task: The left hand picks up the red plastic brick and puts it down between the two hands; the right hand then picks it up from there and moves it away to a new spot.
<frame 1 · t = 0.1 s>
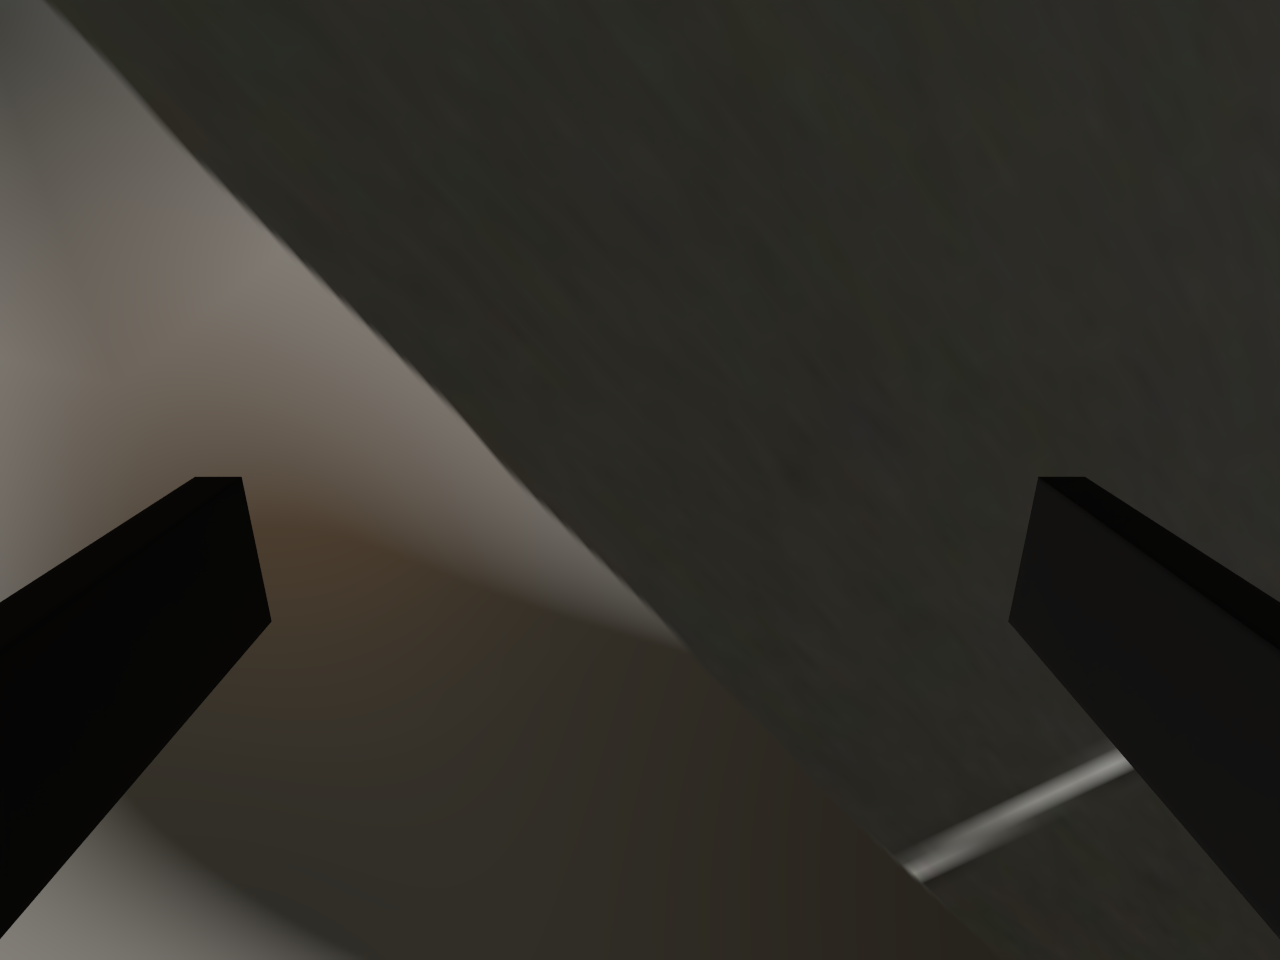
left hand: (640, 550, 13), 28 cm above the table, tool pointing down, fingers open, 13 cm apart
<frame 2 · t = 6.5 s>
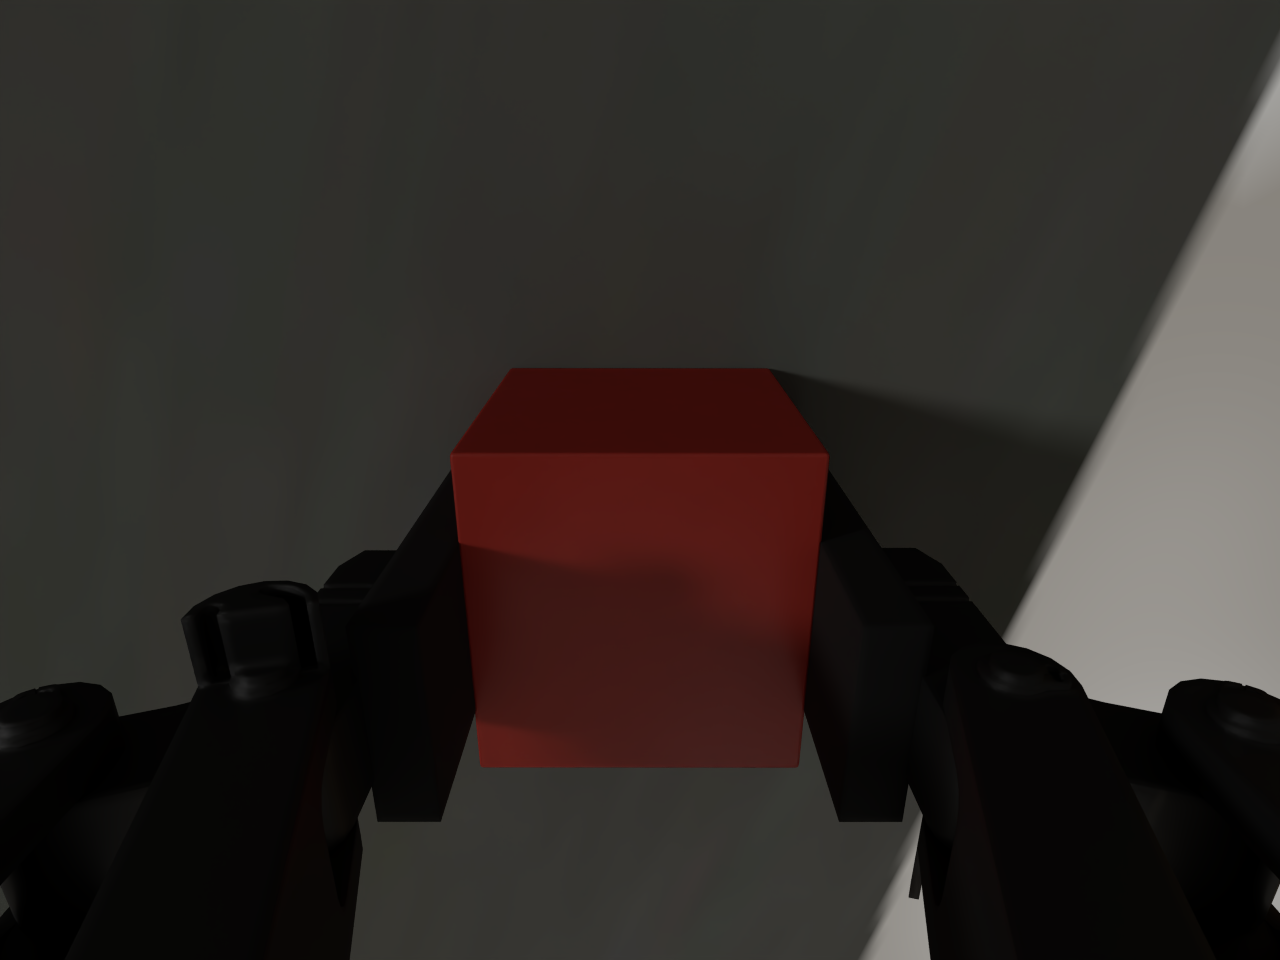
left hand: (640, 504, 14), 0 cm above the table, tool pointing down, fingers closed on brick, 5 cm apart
brick: (639, 493, 15), on the table, touching left hand
when the left hand's fingers open (1 cm above the table, at t = 18.9 s): brick stays where it is, on the table.
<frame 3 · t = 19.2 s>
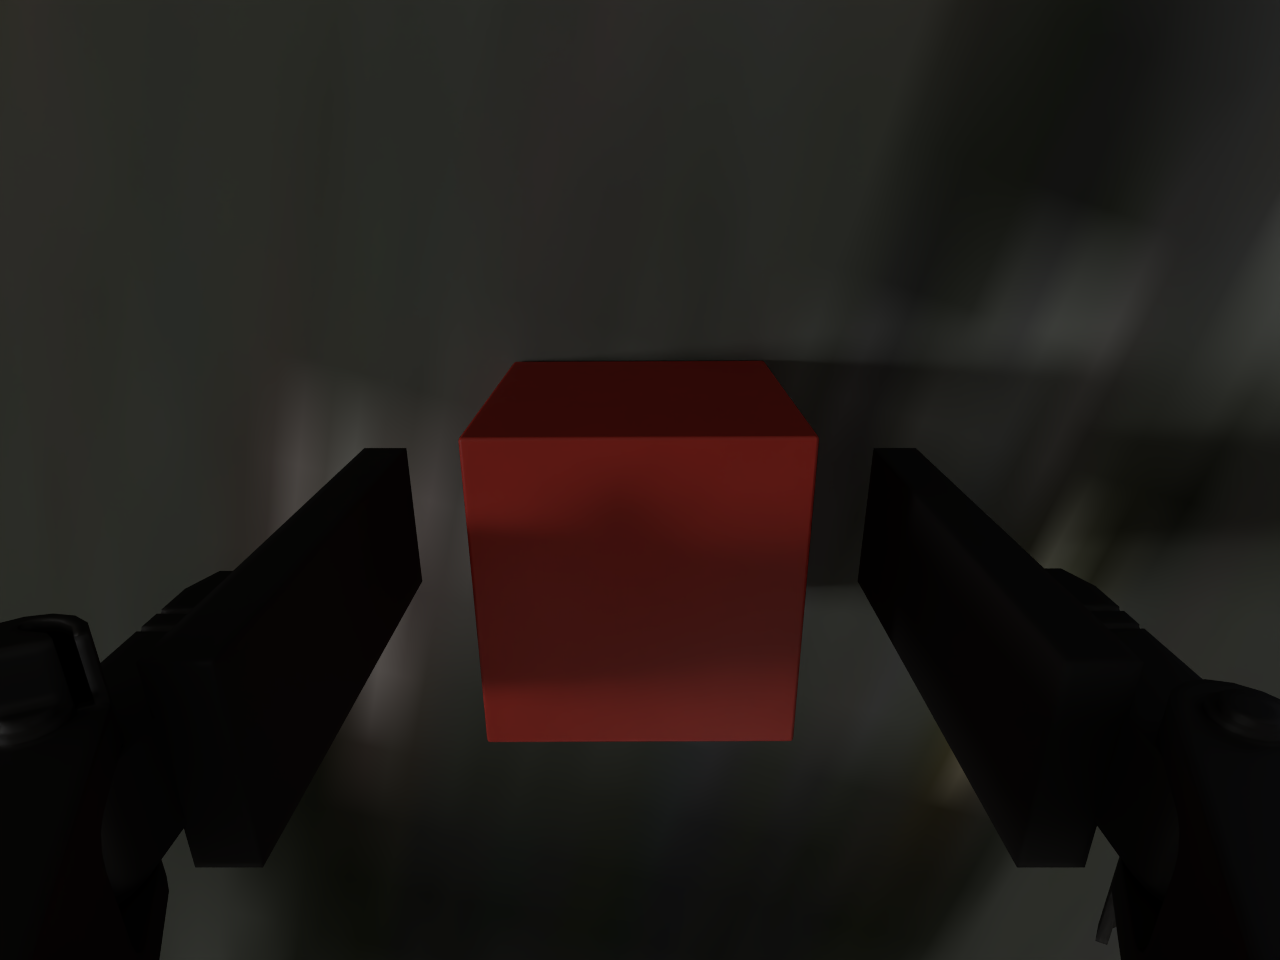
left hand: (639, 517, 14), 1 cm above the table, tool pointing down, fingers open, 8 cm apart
brick: (639, 482, 15), on the table
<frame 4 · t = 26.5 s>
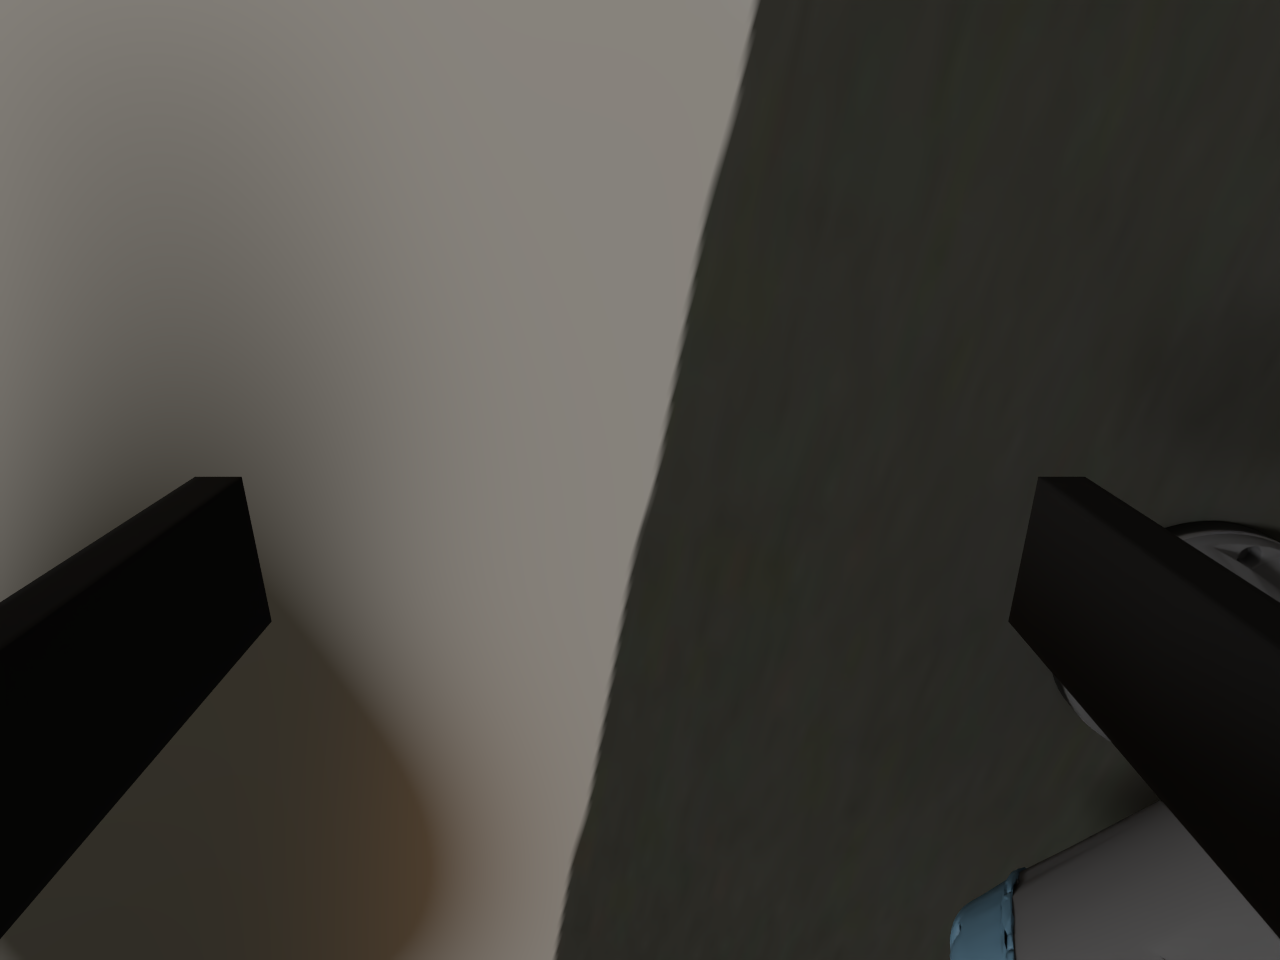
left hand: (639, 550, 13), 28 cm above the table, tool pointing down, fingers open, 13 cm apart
when the right hand's fingers open (2 cm above the table, at t = 32.9 s): brick stays where it is, on the table.
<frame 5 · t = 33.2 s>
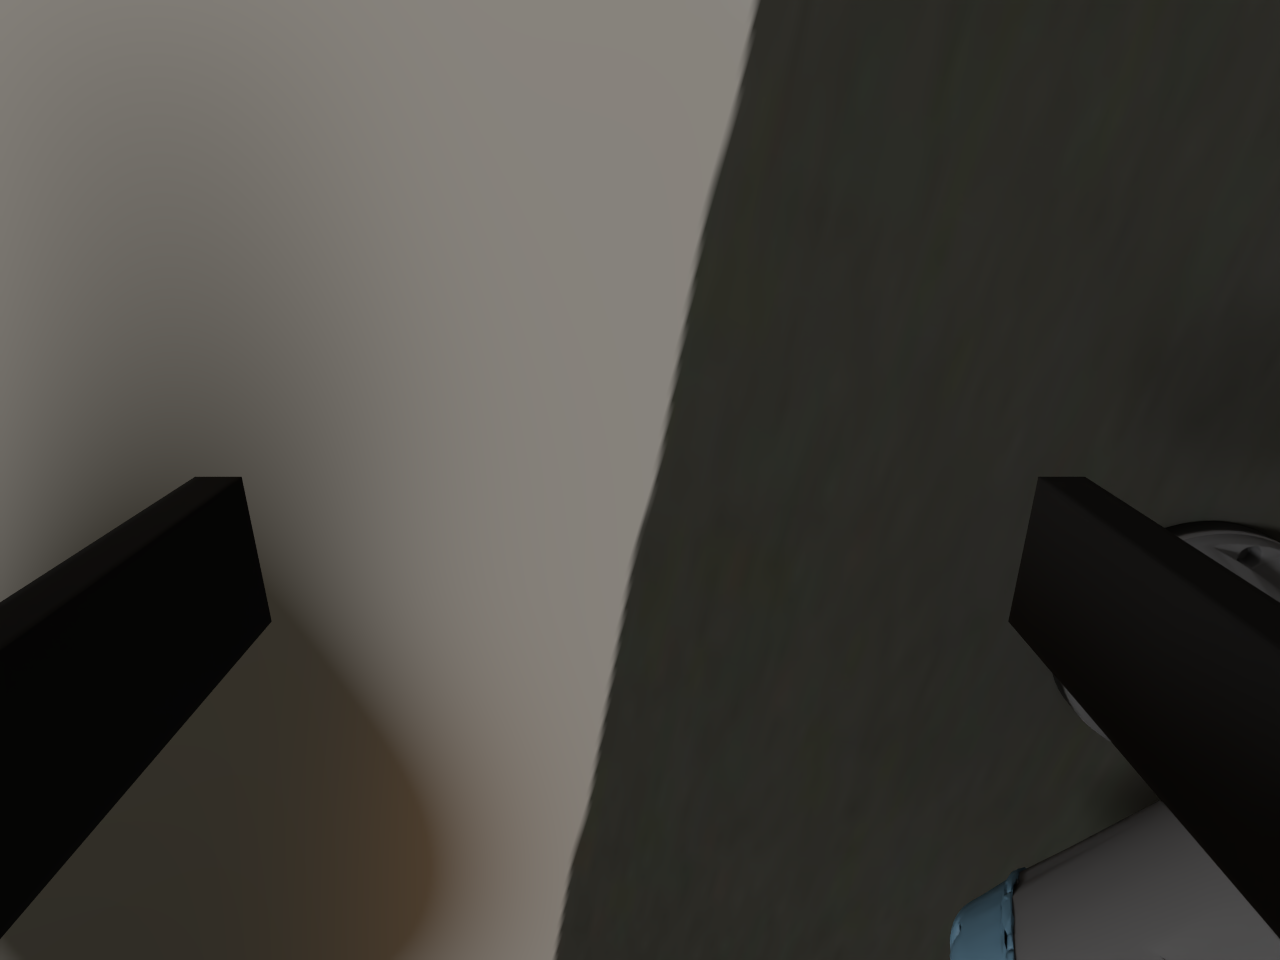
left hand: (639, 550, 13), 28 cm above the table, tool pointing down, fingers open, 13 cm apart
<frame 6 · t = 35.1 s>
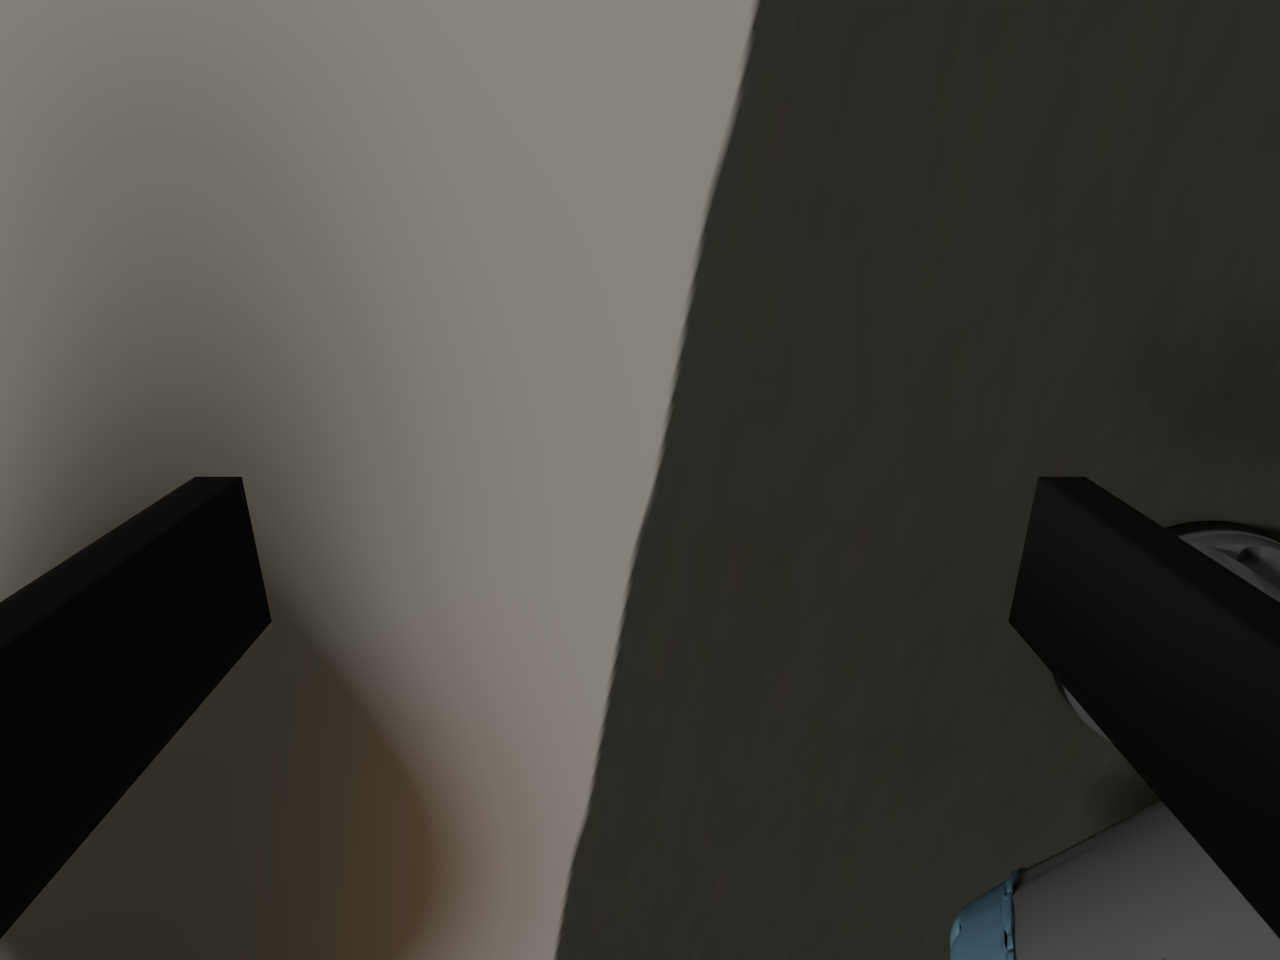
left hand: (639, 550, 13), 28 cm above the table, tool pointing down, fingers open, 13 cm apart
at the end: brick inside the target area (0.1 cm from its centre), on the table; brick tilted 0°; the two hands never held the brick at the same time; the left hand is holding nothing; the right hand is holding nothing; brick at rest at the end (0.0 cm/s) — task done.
